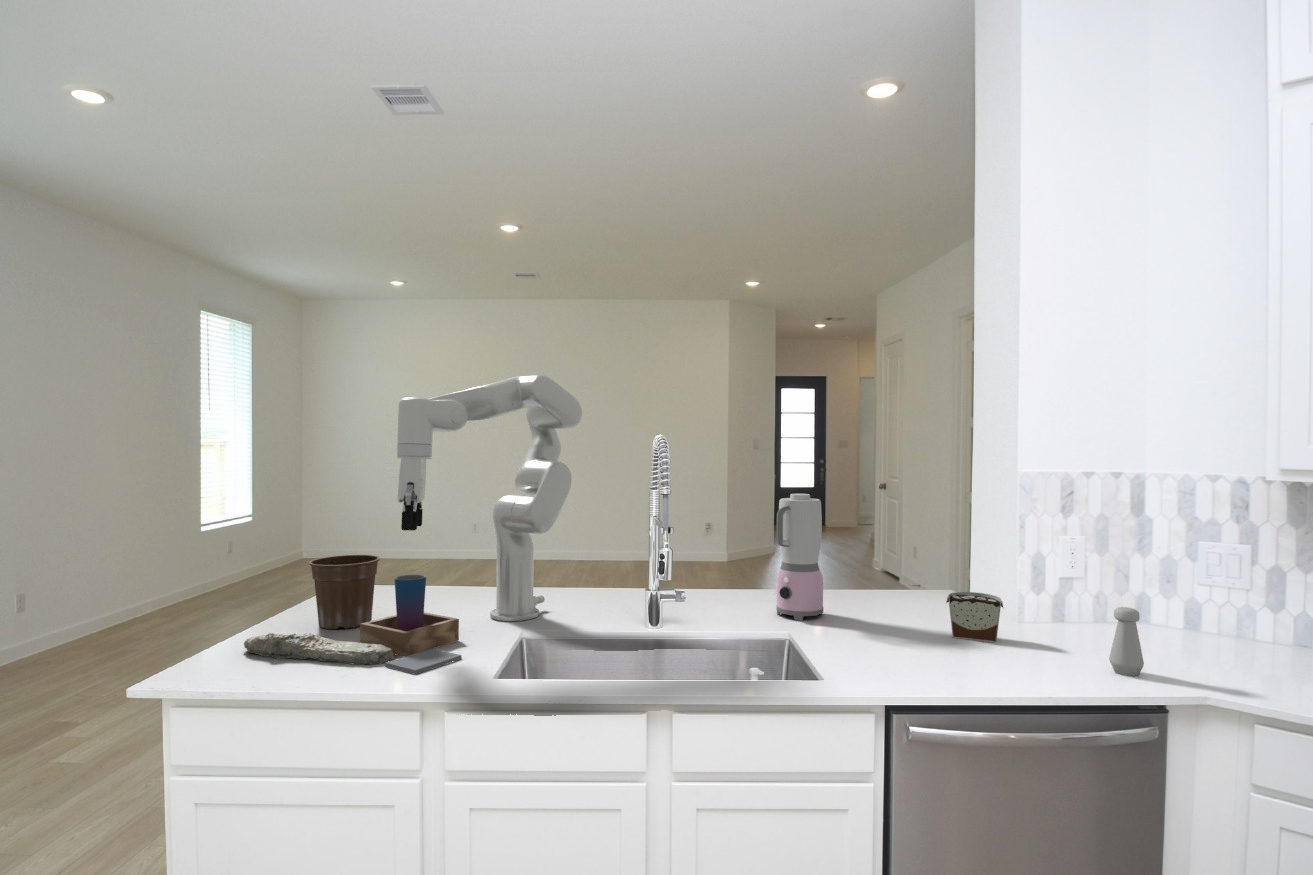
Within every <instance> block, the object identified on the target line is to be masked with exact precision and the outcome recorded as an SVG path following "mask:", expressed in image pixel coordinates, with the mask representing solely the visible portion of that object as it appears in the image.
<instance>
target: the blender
mask: <svg viewBox="0 0 1313 875" xmlns="http://www.w3.org/2000/svg"><path fill="white" fill-rule="evenodd" d="M822 515H823V514H822V501H821V499H819V498H811V494H809V493H790V495H789V497H784V498H780V499H779V502H778V510H777V512H776V544H778V546H779V551H780V555H781V558H780V559H781V565H780V567H779V569H778V572H777V574H776V575H777V576H776V605H775V606H776V615H777V616H778V615H780V616H781V614H783V615H787V616H788V615H789V616H793V618H794V619H796V620H795V621H798V620H802V621H803V620H804V617H813V616H818V615H819V614H820V615H819V616H823V613H824V578H823V574H822V571H821V570H820V567H819V556H820V554H821V553H820V552H821V551H820V550H821V545H822V537H823V535H822V534H823V533H822V532H823V528H822V527H823V524H822V523H823V519H822V518H823V516H822Z"/></svg>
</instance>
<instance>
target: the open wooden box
mask: <svg viewBox="0 0 1313 875" xmlns="http://www.w3.org/2000/svg"><path fill="white" fill-rule="evenodd" d="M459 630H460V619H459V618H456V617H451V616H445V615H441V614H437V613H436V614H434V613H429V612H426V611H424V616H423V627H420V628H417V629H413V630H409V631H402V630H397V614H395V615H391V616H387V617H383V618H379V619H374V620H371V621H369V622H365V623H361V624H360V627H359V642H360V643H367V644H380V645H384V646H386V647H388V648H391V649H392V651H393V655H394V654H396V655H395V656H398V657H399V656H400V657H406V656H409V655H412V654H416V653H419V652H422V651H425V650H429V649H437V648H440V647H442V645H443V646H445V645H446V646H447V645H449V644H451V643H452V642H453V643H456V642H459V641H460V640H459V636H460V635H459V634H460V631H459ZM458 640H459V641H458ZM453 643H452V644H453Z"/></svg>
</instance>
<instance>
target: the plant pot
mask: <svg viewBox="0 0 1313 875" xmlns="http://www.w3.org/2000/svg"><path fill="white" fill-rule="evenodd" d="M380 559H381V558H380V556H378V555H373V554H345V555H333V556H325V557H320V558H315V559H312V560H310V561H309V562H308V563H309V566H311V567H310V568H311V574H312V575H311V576H312V579H313V581H314V589H315V590H314V591H315V598H316V599H315V600H316V610H317V619H318V626H319V627H320V628H322V629H326V630H337V629H339V628H344V629H353V628H360V624H361V623H365V622H369V621H373V620H372V618H373V606H374V596H375V595H374V593H375V592H374V591H375V582H376V575H377V573H378V565H379V564H378V563H379V561H380Z"/></svg>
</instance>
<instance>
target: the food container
mask: <svg viewBox="0 0 1313 875" xmlns="http://www.w3.org/2000/svg"><path fill="white" fill-rule="evenodd" d="M945 604H948V606H949V607H948V608H949V614H950V615H949V616H950V625H951V634H952V638H953V637H954V639H962V638H963V640H972V641H979V642H980V641H981V642H990V643H997V640H998V633H999V632H998V631H999V622H1000V617H1001V616H1000V615H1001V608H1002V609H1005V608H1004V604H1003V600H1002V598H1001V597H1000V596H997V595H993V594H991V593H989V594H988V593H984V592H983V593H982V592H975V591H974V592H973V591H972V592H971V591H954V592H951V593H948V596H947V597H946V602H945Z"/></svg>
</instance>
